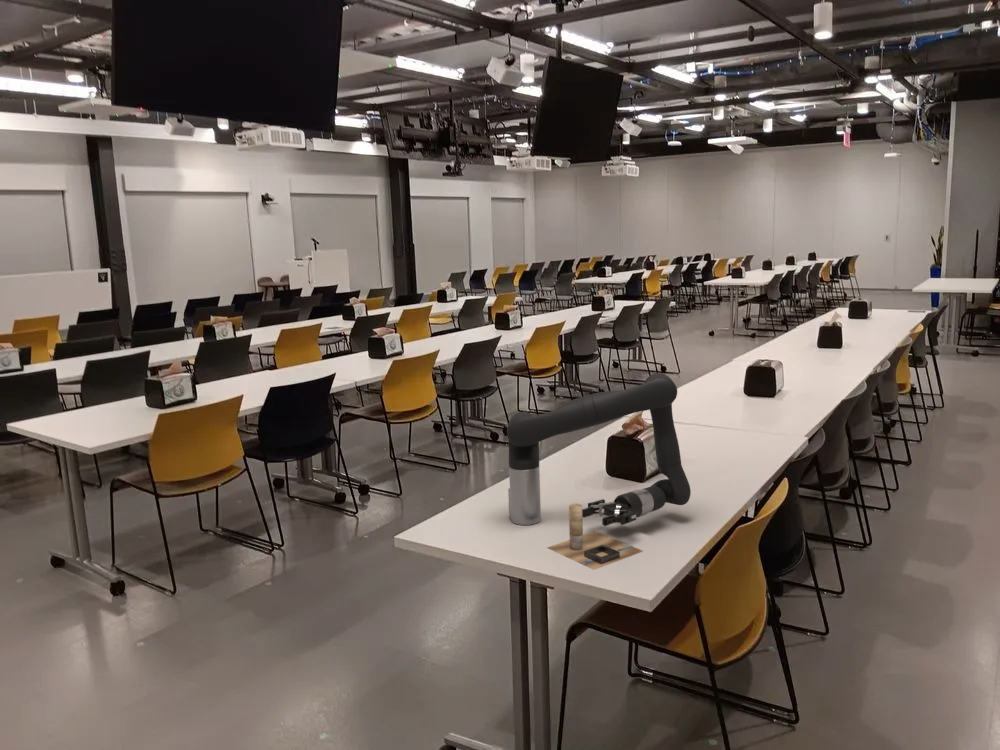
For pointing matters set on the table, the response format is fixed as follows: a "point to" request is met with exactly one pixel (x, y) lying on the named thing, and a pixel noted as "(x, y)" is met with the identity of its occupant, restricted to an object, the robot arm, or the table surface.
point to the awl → (576, 526)
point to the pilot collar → (611, 556)
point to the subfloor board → (591, 542)
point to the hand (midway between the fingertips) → (592, 517)
